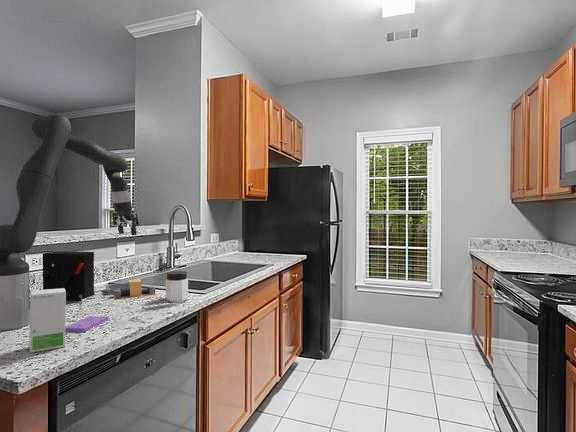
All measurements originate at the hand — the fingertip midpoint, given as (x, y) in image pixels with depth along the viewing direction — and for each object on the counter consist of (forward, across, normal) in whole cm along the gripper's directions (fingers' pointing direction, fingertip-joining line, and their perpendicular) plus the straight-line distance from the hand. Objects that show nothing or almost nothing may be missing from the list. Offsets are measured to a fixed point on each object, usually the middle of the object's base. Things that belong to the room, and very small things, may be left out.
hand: (127, 234), depth 165 cm
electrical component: (+22, -8, -27) cm, 36 cm away
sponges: (+17, +31, -45) cm, 57 cm away
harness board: (+24, +14, -13) cm, 30 cm away
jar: (+24, +35, -9) cm, 43 cm away
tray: (+25, +2, -10) cm, 27 cm away
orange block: (+23, +14, -12) cm, 29 cm away
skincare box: (+12, +39, -61) cm, 73 cm away
